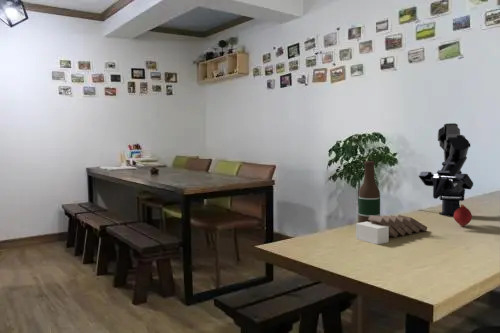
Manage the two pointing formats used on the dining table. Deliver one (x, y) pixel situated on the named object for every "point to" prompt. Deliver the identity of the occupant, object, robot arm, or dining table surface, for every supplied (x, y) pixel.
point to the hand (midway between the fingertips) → (434, 198)
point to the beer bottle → (368, 195)
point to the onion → (462, 215)
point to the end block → (372, 232)
